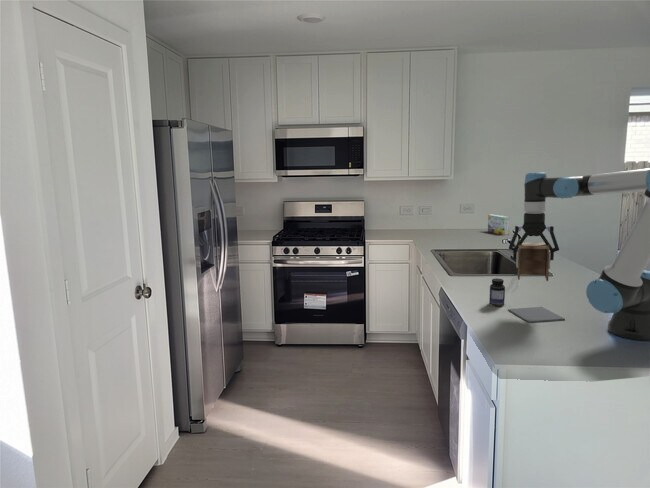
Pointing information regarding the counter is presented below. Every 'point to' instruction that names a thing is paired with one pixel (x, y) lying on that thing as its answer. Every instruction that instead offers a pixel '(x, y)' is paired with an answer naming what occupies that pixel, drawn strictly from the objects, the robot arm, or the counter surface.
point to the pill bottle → (497, 292)
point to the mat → (536, 314)
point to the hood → (533, 259)
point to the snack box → (498, 224)
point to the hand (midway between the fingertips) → (532, 267)
